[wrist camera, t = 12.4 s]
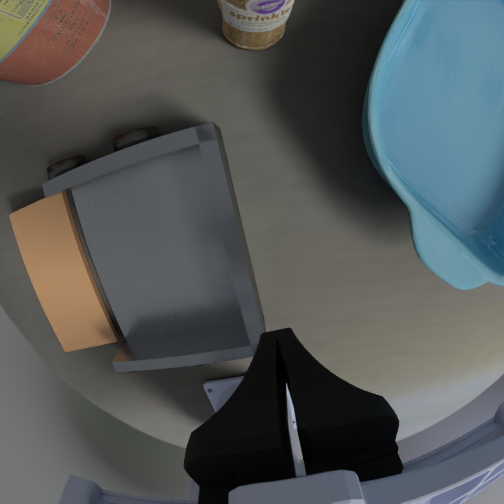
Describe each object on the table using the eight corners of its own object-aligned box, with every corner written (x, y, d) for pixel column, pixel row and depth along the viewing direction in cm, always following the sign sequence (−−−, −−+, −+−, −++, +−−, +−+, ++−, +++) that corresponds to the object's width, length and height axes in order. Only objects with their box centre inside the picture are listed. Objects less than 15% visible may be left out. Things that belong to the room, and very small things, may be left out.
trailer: (267, 331, 24) (271, 365, 20) (128, 351, 24) (112, 382, 20) (216, 113, 18) (208, 102, 14) (61, 168, 19) (28, 173, 15)
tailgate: (117, 341, 23) (65, 352, 22) (119, 336, 24) (68, 347, 23) (61, 190, 19) (9, 214, 18) (65, 190, 20) (13, 213, 19)
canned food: (8, 33, 14) (-69, 11, 2) (97, -37, 13) (38, -97, 1) (25, 111, 17) (-78, 109, 6) (127, 33, 16) (43, -37, 5)
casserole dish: (464, 297, 24) (505, 331, 17) (283, 176, 20) (302, 186, 13) (546, 56, 14) (581, 53, 7) (427, -68, 10) (454, -93, 3)
